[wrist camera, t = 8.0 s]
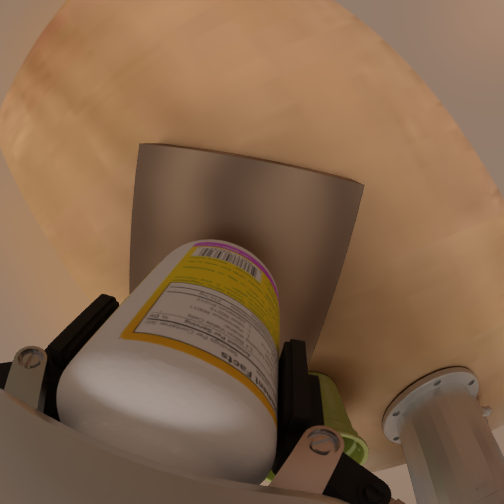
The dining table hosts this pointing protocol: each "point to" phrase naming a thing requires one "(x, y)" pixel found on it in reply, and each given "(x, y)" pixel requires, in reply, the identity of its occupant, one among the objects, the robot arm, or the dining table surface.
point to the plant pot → (338, 422)
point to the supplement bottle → (186, 367)
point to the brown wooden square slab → (248, 222)
